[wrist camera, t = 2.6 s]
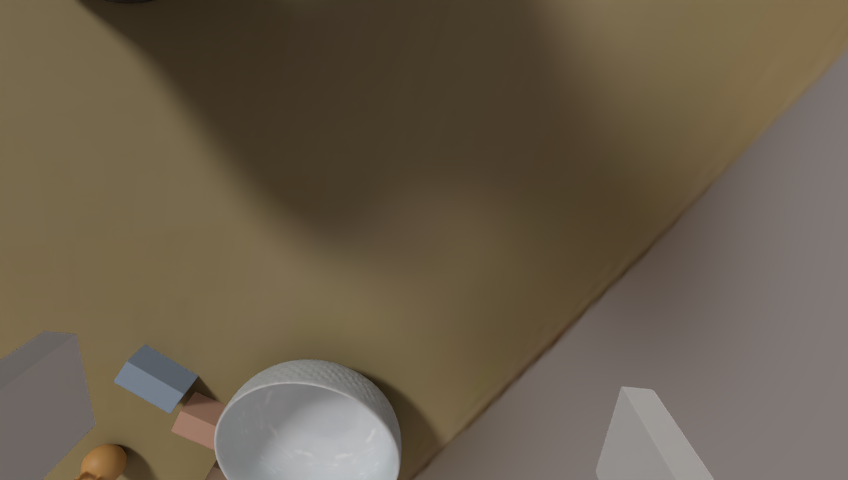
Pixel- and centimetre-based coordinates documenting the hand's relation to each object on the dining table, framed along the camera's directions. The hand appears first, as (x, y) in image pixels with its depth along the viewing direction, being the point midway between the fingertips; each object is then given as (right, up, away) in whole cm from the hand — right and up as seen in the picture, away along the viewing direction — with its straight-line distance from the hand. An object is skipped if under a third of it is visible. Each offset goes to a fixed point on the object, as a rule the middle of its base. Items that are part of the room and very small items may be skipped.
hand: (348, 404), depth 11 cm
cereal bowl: (-8, -13, +36) cm, 39 cm away
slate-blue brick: (-24, -9, +35) cm, 43 cm away
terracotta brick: (-20, -14, +37) cm, 44 cm away
